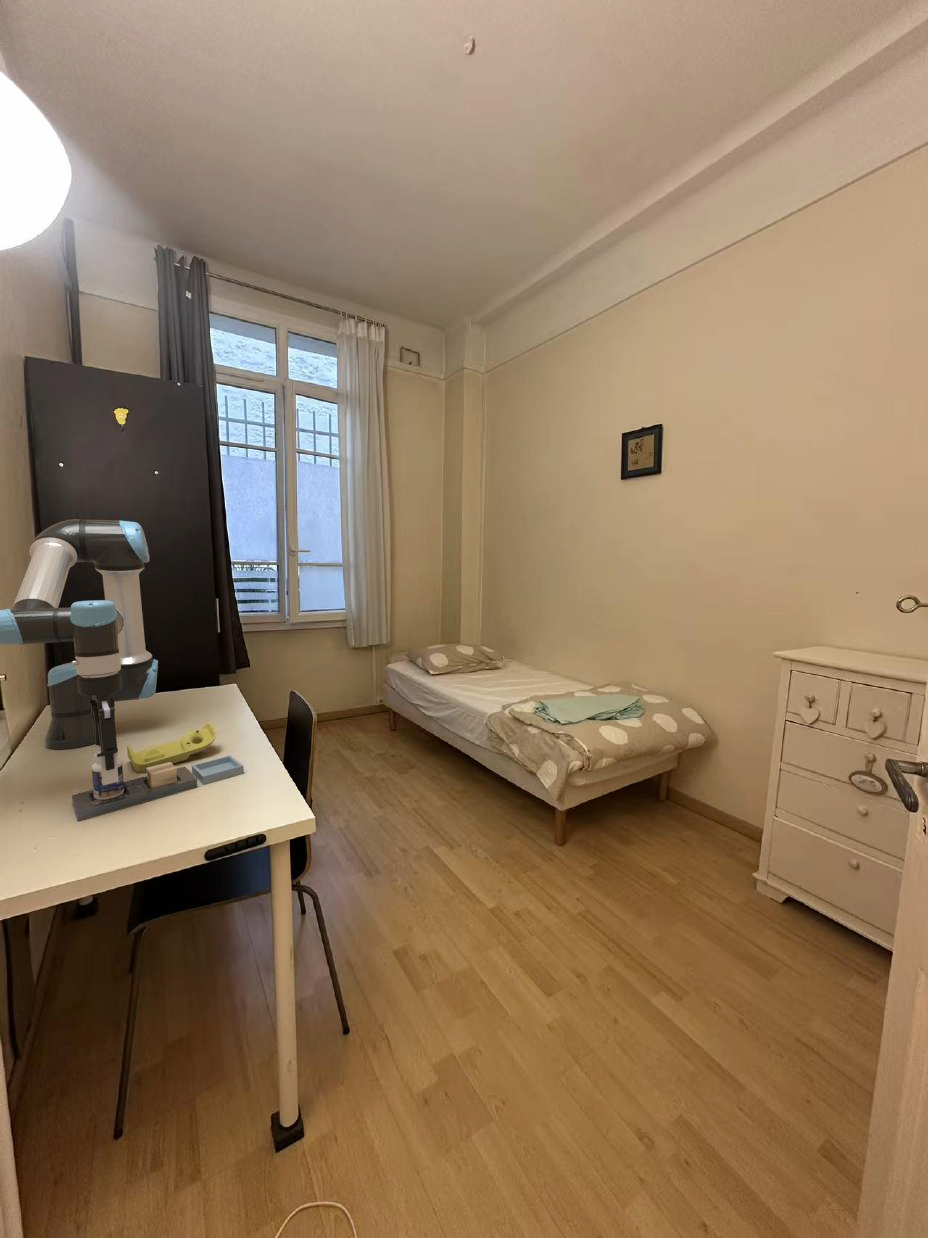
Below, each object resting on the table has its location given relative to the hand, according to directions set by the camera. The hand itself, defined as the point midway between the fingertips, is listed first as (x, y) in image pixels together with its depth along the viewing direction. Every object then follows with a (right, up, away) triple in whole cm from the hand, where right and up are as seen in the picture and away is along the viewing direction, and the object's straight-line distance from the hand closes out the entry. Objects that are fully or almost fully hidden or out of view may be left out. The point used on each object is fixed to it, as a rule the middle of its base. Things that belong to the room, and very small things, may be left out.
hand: (108, 778), depth 106 cm
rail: (+4, -5, +4) cm, 7 cm away
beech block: (+7, -5, +7) cm, 11 cm away
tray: (+16, -4, +15) cm, 23 cm away
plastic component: (0, -3, +24) cm, 25 cm away
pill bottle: (0, -4, 0) cm, 4 cm away
